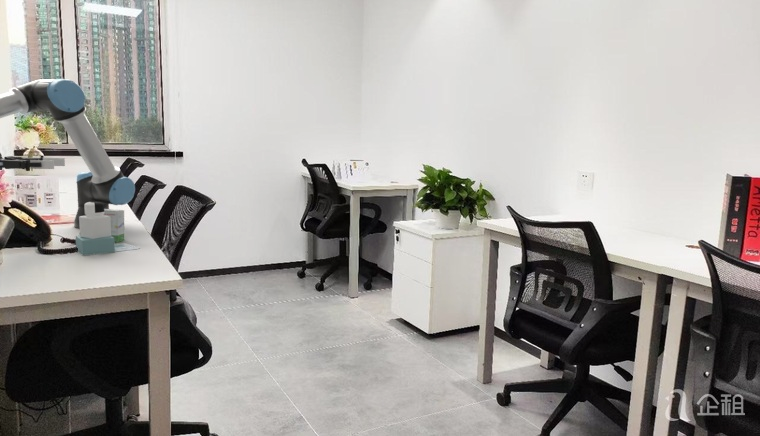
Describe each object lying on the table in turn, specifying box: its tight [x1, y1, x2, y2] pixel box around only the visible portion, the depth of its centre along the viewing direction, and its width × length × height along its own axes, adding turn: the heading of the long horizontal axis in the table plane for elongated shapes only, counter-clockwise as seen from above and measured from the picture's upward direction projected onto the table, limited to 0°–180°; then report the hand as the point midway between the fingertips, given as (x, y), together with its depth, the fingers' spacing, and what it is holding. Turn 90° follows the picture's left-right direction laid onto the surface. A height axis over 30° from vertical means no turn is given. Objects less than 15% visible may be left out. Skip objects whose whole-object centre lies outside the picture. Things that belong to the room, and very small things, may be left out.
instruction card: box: [114, 242, 141, 252], centre depth 202 cm, size 12×8×1 cm, turn 47°
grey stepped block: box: [79, 202, 111, 239], centre depth 193 cm, size 7×7×12 cm
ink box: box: [104, 208, 125, 243], centre depth 212 cm, size 9×5×12 cm, turn 84°
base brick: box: [75, 234, 116, 256], centre depth 195 cm, size 10×10×5 cm
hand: (59, 163), depth 188 cm, fingers open, 13 cm apart
